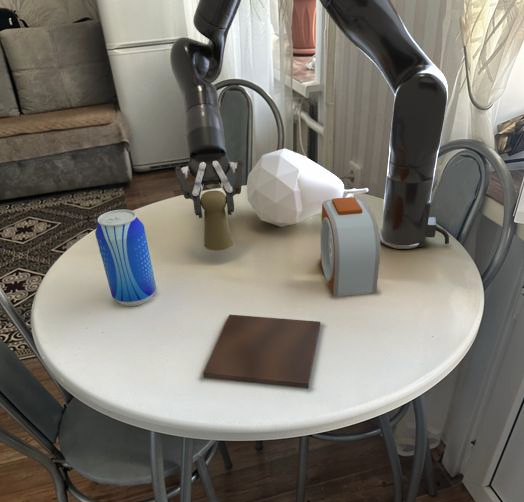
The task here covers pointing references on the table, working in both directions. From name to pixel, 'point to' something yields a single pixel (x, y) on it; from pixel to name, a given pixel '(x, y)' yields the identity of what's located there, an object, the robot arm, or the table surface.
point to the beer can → (125, 257)
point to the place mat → (265, 351)
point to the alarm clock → (349, 246)
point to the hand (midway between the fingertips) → (215, 214)
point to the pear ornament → (291, 188)
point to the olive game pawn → (215, 221)
